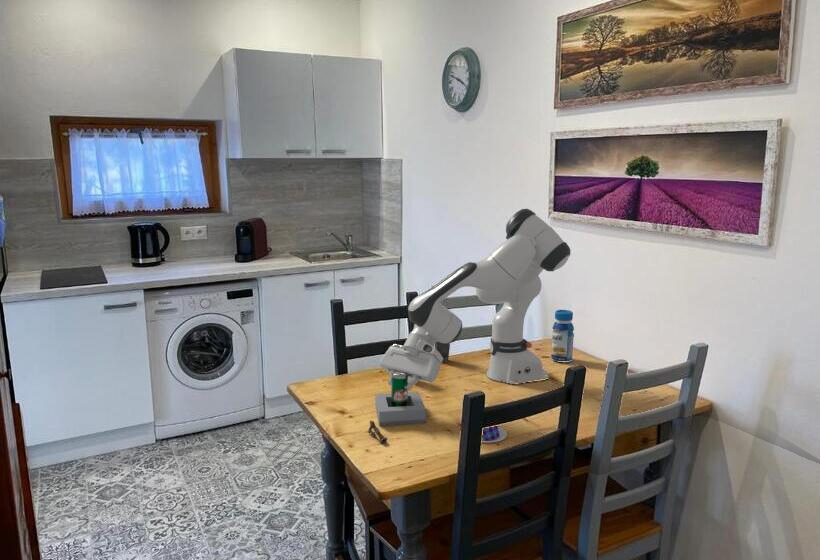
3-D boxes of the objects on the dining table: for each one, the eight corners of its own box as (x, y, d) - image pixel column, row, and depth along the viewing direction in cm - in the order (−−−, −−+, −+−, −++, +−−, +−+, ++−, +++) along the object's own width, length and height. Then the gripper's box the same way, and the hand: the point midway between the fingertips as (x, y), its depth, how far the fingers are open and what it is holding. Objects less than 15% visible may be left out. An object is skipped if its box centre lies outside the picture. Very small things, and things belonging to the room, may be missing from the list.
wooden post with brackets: (370, 428, 176) (373, 417, 174) (384, 448, 171) (387, 437, 168) (364, 430, 175) (368, 419, 172) (378, 450, 170) (382, 439, 167)
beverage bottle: (576, 363, 235) (579, 313, 232) (556, 364, 234) (558, 314, 230) (566, 356, 243) (568, 308, 240) (547, 357, 242) (549, 309, 238)
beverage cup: (448, 364, 233) (449, 315, 230) (430, 362, 236) (431, 313, 232) (453, 359, 240) (454, 310, 236) (436, 357, 243) (436, 309, 239)
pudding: (477, 423, 182) (477, 406, 181) (513, 433, 175) (514, 416, 174) (457, 437, 172) (457, 420, 171) (495, 448, 166) (495, 431, 165)
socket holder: (418, 404, 195) (418, 391, 194) (425, 423, 181) (425, 409, 181) (375, 407, 193) (375, 394, 192) (379, 425, 180) (379, 411, 179)
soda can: (393, 414, 184) (394, 376, 182) (389, 408, 188) (389, 371, 186) (409, 412, 185) (410, 375, 183) (404, 406, 190) (405, 370, 188)
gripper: (387, 338, 195) (368, 375, 189) (439, 349, 183) (420, 389, 177) (396, 348, 199) (377, 384, 193) (447, 359, 187) (429, 399, 181)
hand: (398, 387), depth 185 cm, fingers closed on soda can, 5 cm apart
